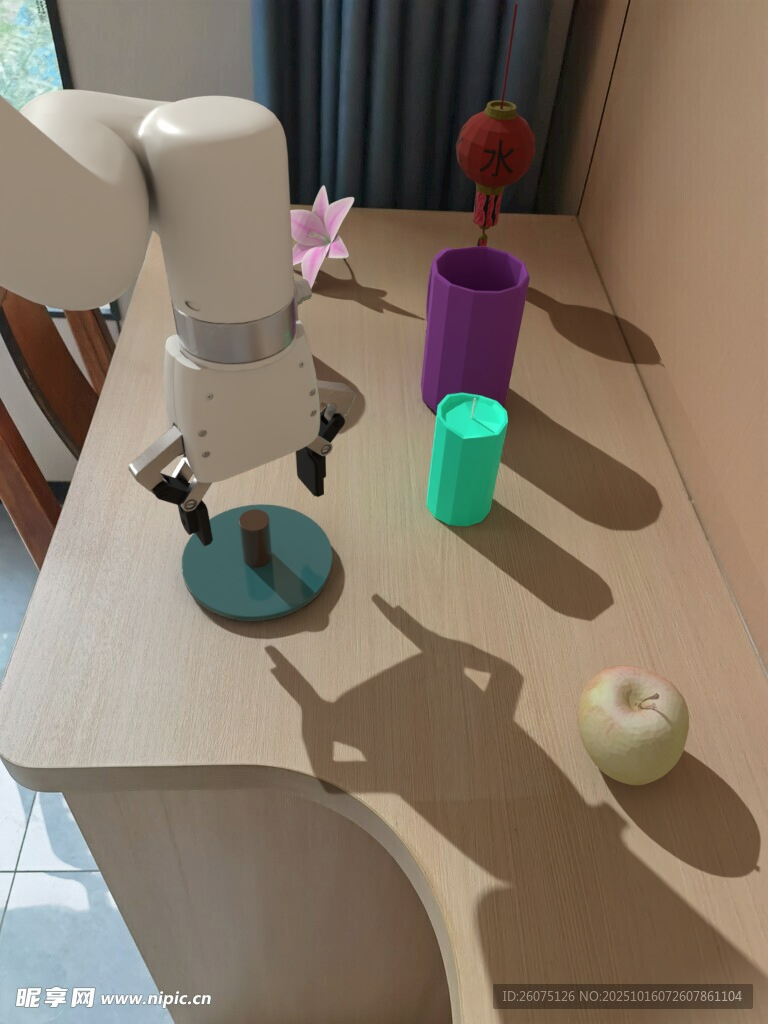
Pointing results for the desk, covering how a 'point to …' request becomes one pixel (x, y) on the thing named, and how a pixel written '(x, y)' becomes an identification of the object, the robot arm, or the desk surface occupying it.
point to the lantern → (494, 153)
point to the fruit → (633, 724)
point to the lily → (318, 234)
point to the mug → (472, 323)
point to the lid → (258, 563)
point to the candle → (465, 458)
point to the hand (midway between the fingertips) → (257, 509)
